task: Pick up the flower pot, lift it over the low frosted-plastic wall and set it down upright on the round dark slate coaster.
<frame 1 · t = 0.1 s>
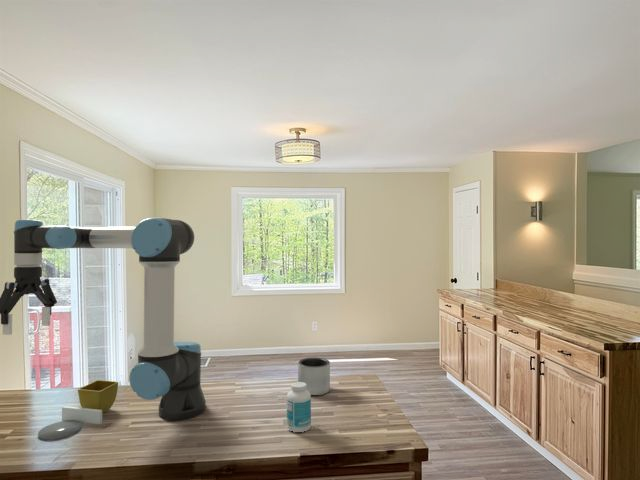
hand: (27, 329, 130), 28 cm above the worktop, fingers open, 13 cm apart
wall: (81, 421, 124), on the worktop
coaster: (60, 431, 118), on the worktop
flower pot: (98, 412, 131), on the worktop
planter: (313, 391, 151), on the worktop
pill bottle: (298, 428, 121), on the worktop
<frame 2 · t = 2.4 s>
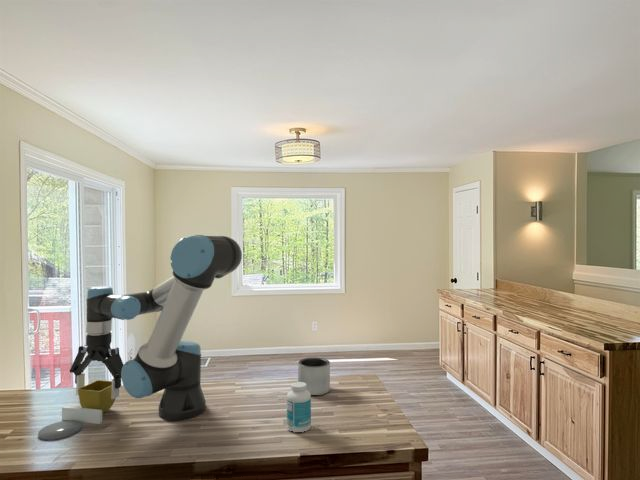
hand: (97, 395, 132), 5 cm above the worktop, fingers open, 13 cm apart
nothing on the worktop moved.
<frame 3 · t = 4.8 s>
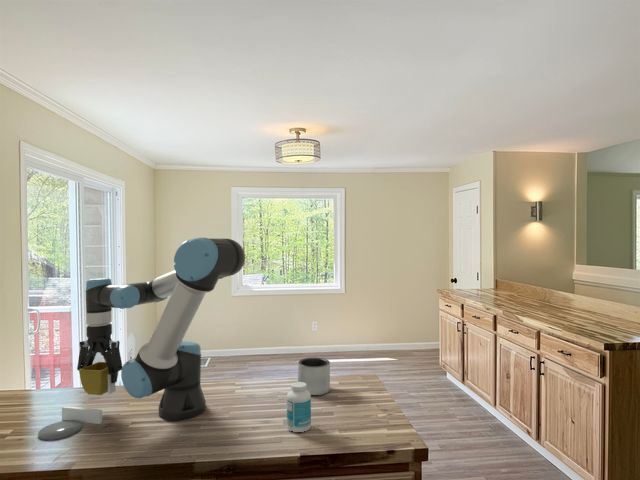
hand: (100, 391, 131), 7 cm above the worktop, fingers closed on flower pot, 8 cm apart
flower pot: (99, 393, 131), point 6 cm above the worktop, touching gripper
everything else where it was.
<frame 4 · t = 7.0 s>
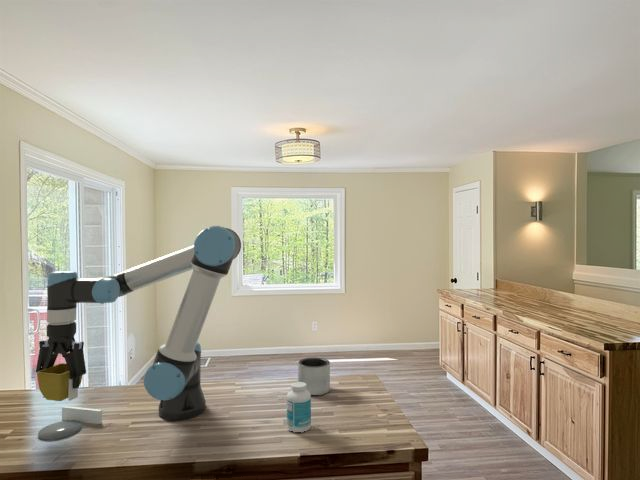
hand: (60, 397, 118), 10 cm above the worktop, fingers closed on flower pot, 8 cm apart
flower pot: (60, 398, 118), point 10 cm above the worktop, touching gripper
everything else where it was.
when the fingers open (2 cm above the worktop, at t = 9.2 s): flower pot drops 1 cm, point 1 cm above the worktop.
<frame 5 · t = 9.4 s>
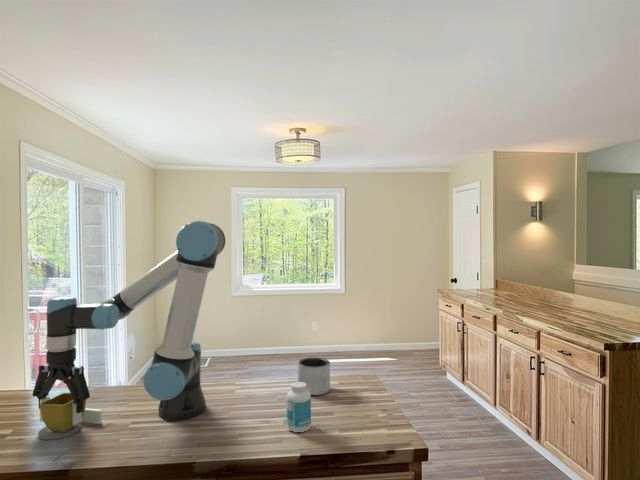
hand: (60, 421, 118), 3 cm above the worktop, fingers open, 11 cm apart
flower pot: (64, 429, 117), point 1 cm above the worktop, touching gripper
everything else where it was.
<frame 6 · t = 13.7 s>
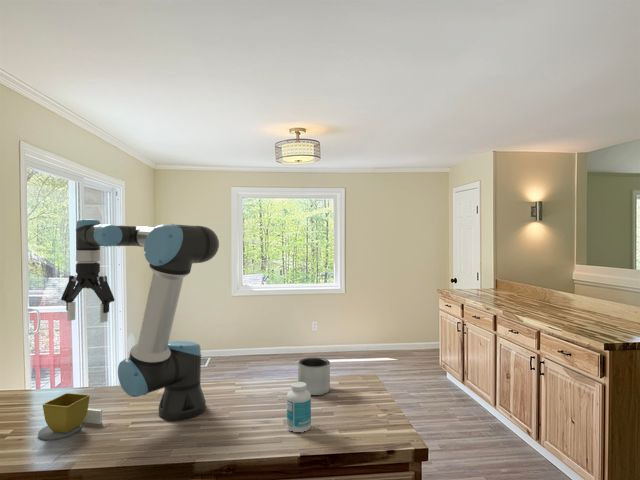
hand: (87, 321, 141), 29 cm above the worktop, fingers open, 13 cm apart
flower pot: (66, 429, 117), point 1 cm above the worktop, touching coaster
everything else where it was.
at the end: flower pot 2.2 cm from the coaster (horizontally); flower pot tilted 0°; flower pot point 0.6 cm above the worktop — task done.
